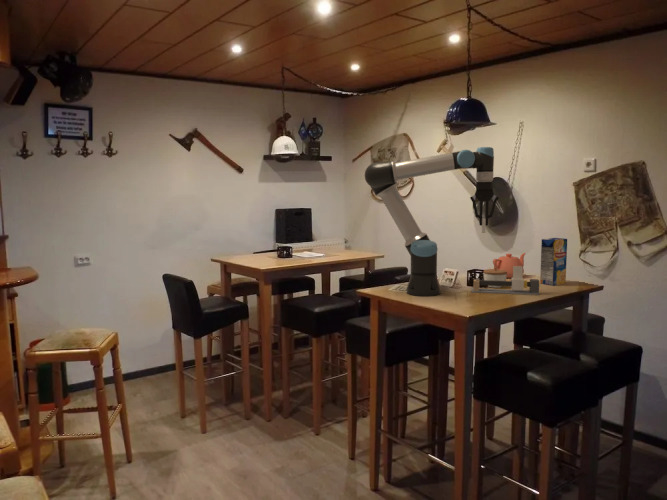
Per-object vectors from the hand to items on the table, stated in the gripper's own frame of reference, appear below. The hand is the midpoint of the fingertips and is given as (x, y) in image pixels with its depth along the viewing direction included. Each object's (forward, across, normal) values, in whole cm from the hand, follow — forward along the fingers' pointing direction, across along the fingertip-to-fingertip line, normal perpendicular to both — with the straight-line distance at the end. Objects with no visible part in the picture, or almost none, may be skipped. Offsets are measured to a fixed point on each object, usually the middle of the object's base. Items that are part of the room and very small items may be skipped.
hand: (483, 232), depth 246 cm
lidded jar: (+27, +6, +6) cm, 28 cm away
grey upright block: (+25, +15, -7) cm, 30 cm away
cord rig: (+26, +10, -7) cm, 29 cm away
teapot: (+27, +15, +38) cm, 49 cm away
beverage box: (+27, +34, +20) cm, 48 cm away
